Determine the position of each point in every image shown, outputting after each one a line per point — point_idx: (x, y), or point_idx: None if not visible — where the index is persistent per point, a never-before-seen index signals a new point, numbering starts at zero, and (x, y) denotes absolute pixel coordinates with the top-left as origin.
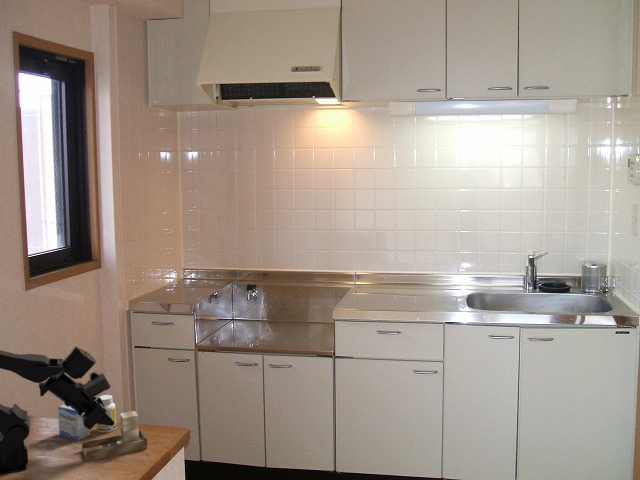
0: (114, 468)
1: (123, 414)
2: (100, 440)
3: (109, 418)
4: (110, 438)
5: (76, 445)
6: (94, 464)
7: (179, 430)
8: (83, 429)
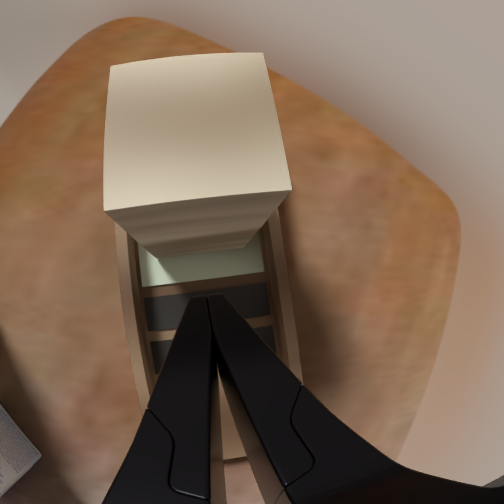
0: (411, 305)
1: (161, 172)
2: (149, 384)
3: (271, 358)
4: (138, 323)
5: (94, 471)
6: (347, 396)
7: (118, 27)
8: (1, 443)
